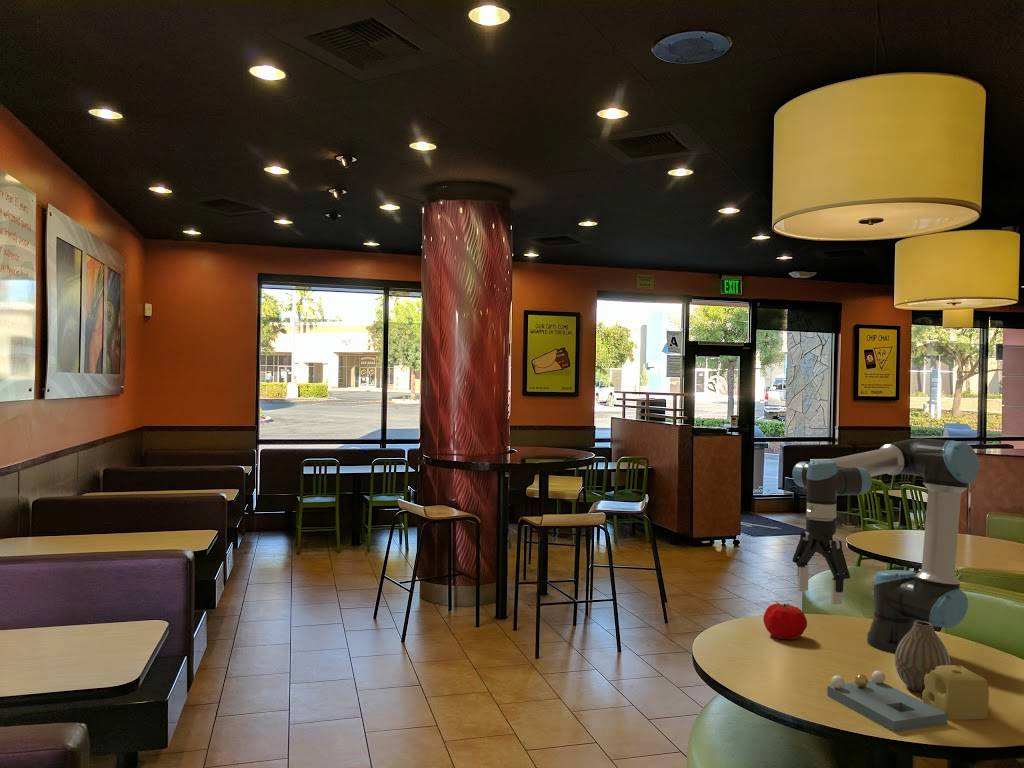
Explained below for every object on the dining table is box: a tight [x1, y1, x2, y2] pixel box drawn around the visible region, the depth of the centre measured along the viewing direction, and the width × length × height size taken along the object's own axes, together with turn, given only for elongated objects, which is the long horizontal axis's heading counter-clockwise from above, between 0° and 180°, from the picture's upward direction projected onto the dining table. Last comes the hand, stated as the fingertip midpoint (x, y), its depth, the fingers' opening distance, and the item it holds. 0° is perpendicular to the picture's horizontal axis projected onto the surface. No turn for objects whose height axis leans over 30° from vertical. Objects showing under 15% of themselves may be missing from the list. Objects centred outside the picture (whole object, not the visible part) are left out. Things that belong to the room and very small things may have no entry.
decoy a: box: [871, 670, 886, 684], centre depth 206 cm, size 3×3×3 cm
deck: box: [826, 679, 948, 733], centre depth 195 cm, size 16×22×2 cm
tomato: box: [762, 601, 808, 640], centre depth 250 cm, size 13×12×11 cm
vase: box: [894, 620, 952, 694], centre depth 209 cm, size 13×13×18 cm
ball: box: [854, 673, 869, 688], centre depth 203 cm, size 3×3×3 cm
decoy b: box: [830, 674, 846, 689], centre depth 202 cm, size 3×3×3 cm
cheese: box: [921, 664, 990, 721], centre depth 194 cm, size 10×11×10 cm
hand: (819, 597), depth 213 cm, fingers open, 13 cm apart
